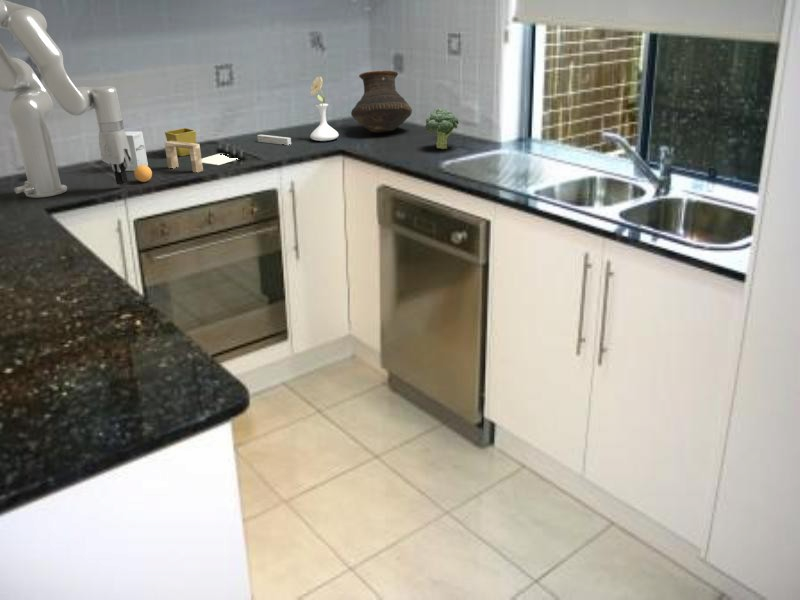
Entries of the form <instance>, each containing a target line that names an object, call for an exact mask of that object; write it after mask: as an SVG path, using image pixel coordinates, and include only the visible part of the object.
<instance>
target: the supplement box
mask: <svg viewBox="0 0 800 600" xmlns="http://www.w3.org/2000/svg"><path fill="white" fill-rule="evenodd" d="M125 134H126V136H127V140H128V143H129V147H130V152H131V161H130V165H131V166H129V167H127V170H126V172H130V171H131V172H134V171H135V169H136V168H137V167H138V166H140V165H146V166H148V167H149V163H148V158H147V151H146V146H145V145H146V144H145V139H144V134H143V131H125Z"/></svg>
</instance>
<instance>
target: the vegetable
mask: <svg viewBox="0 0 800 600" xmlns="http://www.w3.org/2000/svg"><path fill="white" fill-rule="evenodd" d="M459 123H460V122H459V119H458V117H457V116H456V115H455V114H453V112H452V111H451V110H449V109H448V110H447V109H446V108H442V107H437V108H435V109H434V110H431V112H430V114H429V116H427V117H426V118H425V128H426V131H428V132H429V133H430V134H431V133H433V132H434V131H435V132H436V138H437V141H436V142H435V144H436V148H437V149H441V150H445V149H446V150H447V149H448V142H447V141H448V137H449V136H450V135H451V133H452V132H453V130H456V129H458V125H459Z"/></svg>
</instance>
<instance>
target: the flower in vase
mask: <svg viewBox="0 0 800 600" xmlns="http://www.w3.org/2000/svg"><path fill="white" fill-rule="evenodd" d="M323 82H324V81H323V78H322V76H316V78H315V80H312V85H311V87H310V95H311V96H312V97H315V96H316V95H317V94H318V95H317V99H318V100H319V101H320V102H322V103H318V104H315V107H316V108H317V110H318V113H319V119H320V122H319V125H318V126H317V127H316V128H315V129H314V130H312V132H311V134H310V136H309V137H310V139H311V140H312V141H313V140H314V141H320V142H327V141H328V142H329V141H332V140H335V139H337V138H338V137H339V135H340V134H339V132H338V131H337V130H336V129H334V128H333V127H332V126H330V125H329V124H328V122H327V109H328V106H329V103H326V96H325V95H324V92H323V91H322V89H321V88H322V87H323ZM319 92H321V95H322V96H321V95H320V94H319Z"/></svg>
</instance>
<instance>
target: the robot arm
mask: <svg viewBox="0 0 800 600" xmlns="http://www.w3.org/2000/svg"><path fill="white" fill-rule="evenodd" d="M0 29H4V30H8V31H10V33H11V34H12V36H13V37H14V38H15V39H16V41H17V42H18V43H19V45H20V46H21V47H22V48H23V50H24V52H26V53H27V55H28V56H29V57H30V59H31V60H32V61H33V63H34V64H35V65H36V67H37V68H38V71H39V74H40V76H41V78H42V80H43V82H44V84H45V86H46V87H45V86H44V84H43V83H42V82H41V81H42V80H40V79H39V77H38V75H37V74H36V72H35V71H34V70H33V68H32V66H30V65H29V63H27V62H26V61H25V60H23V59H21V58H18V57H11V56H10V55H9V54H8V53H7V51H6V50H5V48H4V47H3V45H2V44H1V43H0V92H3V93H13V94H14V97H12V98H11V100H10V102H9V104H8V115H9V119H10V121H11V124H12V126H13V129H14V132H15V134H16V139H17V141H18V142H17V143H18V146H19V150H20V154H21V159H22V163H23V168H24V171H25V175H26V179H27V180H26V181H24V184H22V185H21V186H17V187H14V189H13V190H14V192H15V194H20V193H21V194H22V193H24V194H25V196H26V197H28V198H32V199H33V198H35V199H38V198H39V199H40V198H48V197H54V196H58V195H61V194H63V193H65V192H67V191H68V186H67V185H65V184H61V178H60V175H59V169H58V165H57V159H56V156H55V152H54V148H53V147H54V146H53V143H52V138H51V134H50V131H49V128H48V126H47V123H46V121H45V119H46V118H48V117H49V116H50V115H51V114H52V112H53V109H54V103H53V100H52V97H53V98H54V100H55V101H56V102H57V103H58V104H59V106H60V107H61V109H63V110H64V112H66V113H68V114H69V115H71V116H81V115H83V114H86V113H87V112H89V111H91V110H94V111H95V117H96V121H97V122H96V123H97V125H98V126H97V127H98V145H99V152H100V157H101V160H102V162H103V163H106V164H107V165H108V166H111V169H112V172H114V176H115V177H114V178H115V181H116V184H117V185H120V186H121V185H124V184H128V182H129V181H128V175H127V171H126V170H127V167H129V166H131V165H130V161H131V152H130V147H129V143H128V140H127V136H126V134H125V132H126V131H125V126H124V122H123V121H124V119H123V116H122V110H121V106H120V99H119V95H118V90H117V88H116V87H115V86H112V85H104V86H83V85H82V86H77V87H76V85H75V84H74V83H73V82H72V80H71V79H70V77H69V75H68V73H67V71H66V69H65V65H64V56H63V52H62V50H61V49H60V48H59V46H58V45H57V44H56V42H55V41H54V39H52V36H50V35H49V33H48V32H47V29H48V23H47V20H46V17H45V16H44V15H43V13H41V11H39V10H37V9H35V8H32V7H29V6H25V5H22V4H19V3H15V2H12V1H8V0H0ZM48 91H49V92H48ZM49 93H50V94H51V95H50V94H49ZM51 96H52V97H51Z"/></svg>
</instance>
